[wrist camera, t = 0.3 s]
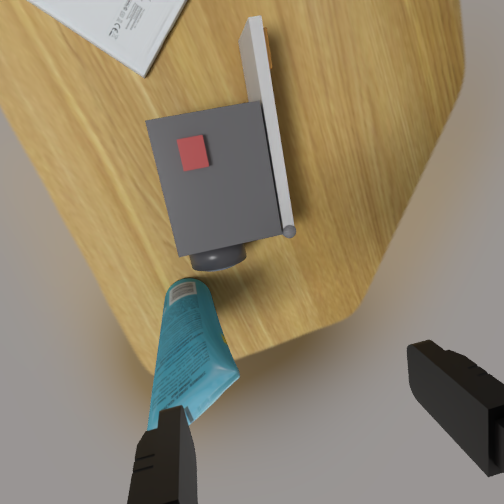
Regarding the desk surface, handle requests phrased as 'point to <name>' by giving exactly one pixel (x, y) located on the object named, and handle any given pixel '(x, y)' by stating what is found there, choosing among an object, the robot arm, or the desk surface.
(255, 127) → the camera body
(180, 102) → the desk surface
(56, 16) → the external hard drive
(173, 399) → the tube
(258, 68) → the door
